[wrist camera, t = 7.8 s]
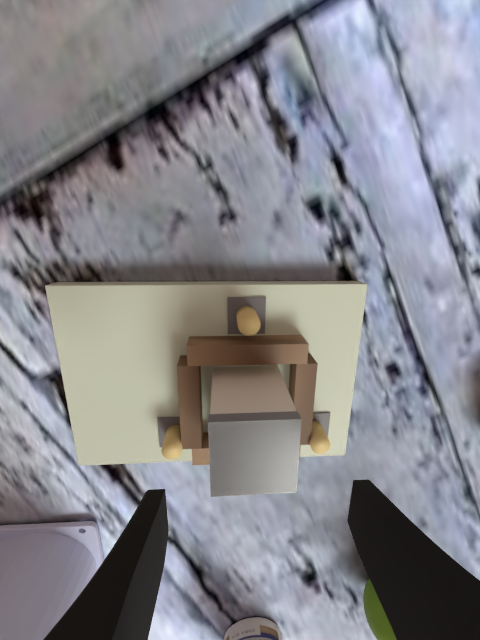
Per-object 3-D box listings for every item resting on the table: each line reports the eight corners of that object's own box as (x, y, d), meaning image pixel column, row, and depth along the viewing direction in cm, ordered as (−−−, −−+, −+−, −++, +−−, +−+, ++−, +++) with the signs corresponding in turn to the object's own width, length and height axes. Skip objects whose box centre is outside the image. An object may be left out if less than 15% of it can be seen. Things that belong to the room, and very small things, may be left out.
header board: (86, 452, 21) (64, 488, 18) (56, 282, 17) (24, 292, 14) (338, 443, 22) (356, 475, 19) (358, 280, 18) (383, 290, 15)
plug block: (213, 423, 19) (210, 496, 14) (211, 366, 18) (208, 422, 13) (276, 421, 19) (296, 492, 14) (278, 364, 18) (301, 419, 13)
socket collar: (185, 448, 20) (182, 465, 18) (179, 336, 17) (175, 346, 16) (302, 443, 20) (308, 460, 19) (311, 334, 18) (319, 343, 16)
